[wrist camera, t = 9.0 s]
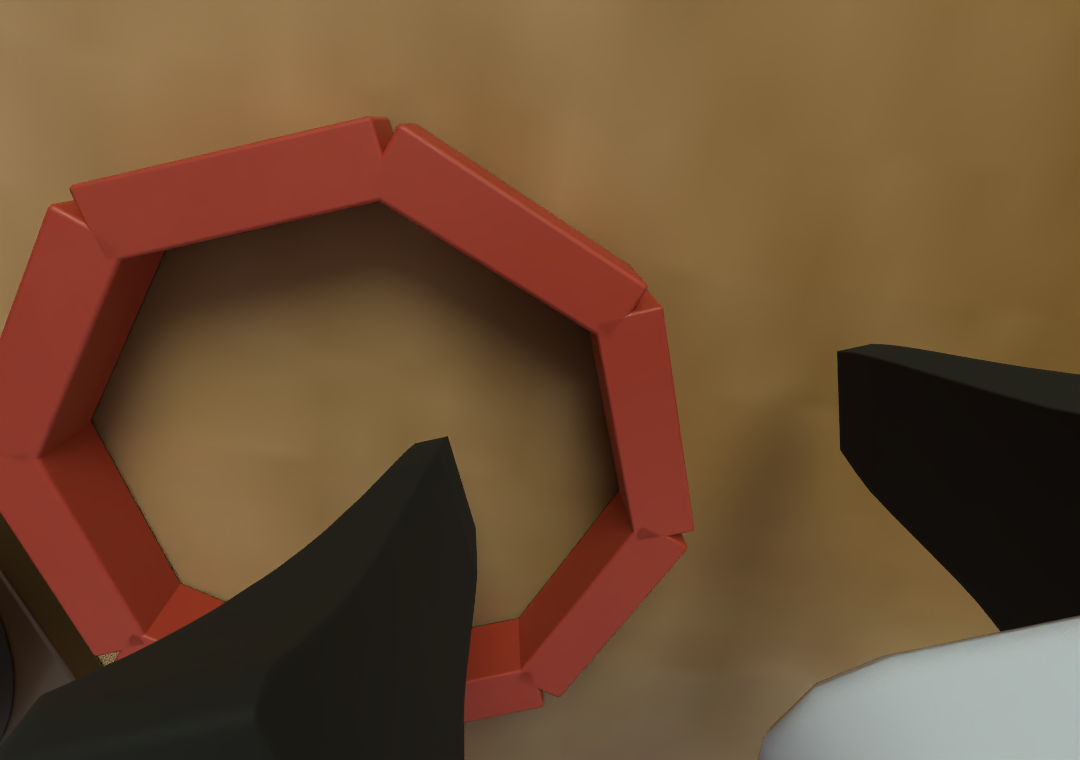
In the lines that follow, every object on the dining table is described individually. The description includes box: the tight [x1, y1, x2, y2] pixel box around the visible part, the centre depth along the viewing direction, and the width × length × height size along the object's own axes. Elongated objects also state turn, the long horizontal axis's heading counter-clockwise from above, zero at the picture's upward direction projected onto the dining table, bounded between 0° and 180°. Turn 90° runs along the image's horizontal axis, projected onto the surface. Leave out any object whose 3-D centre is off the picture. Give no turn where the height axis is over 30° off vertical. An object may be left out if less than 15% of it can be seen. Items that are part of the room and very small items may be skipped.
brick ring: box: [0, 117, 694, 723], centre depth 12 cm, size 12×12×2 cm
